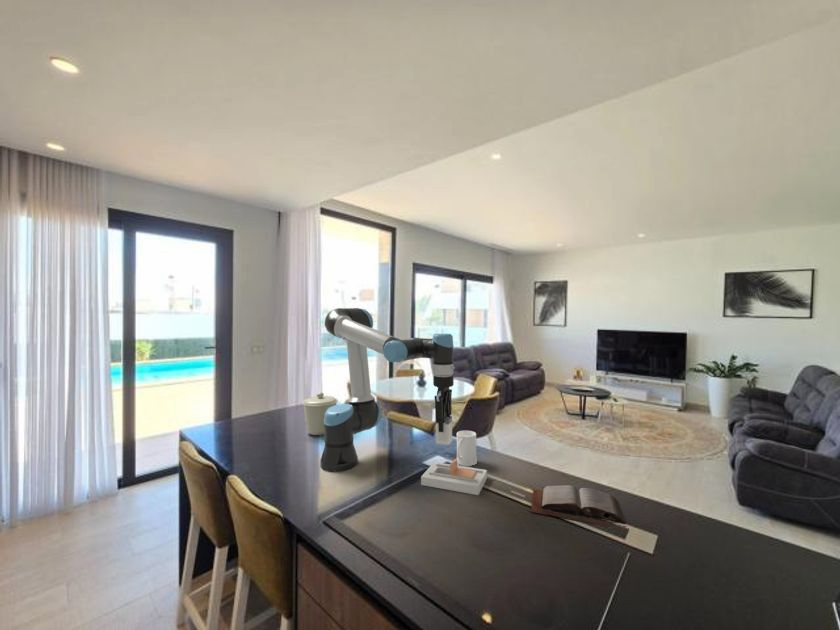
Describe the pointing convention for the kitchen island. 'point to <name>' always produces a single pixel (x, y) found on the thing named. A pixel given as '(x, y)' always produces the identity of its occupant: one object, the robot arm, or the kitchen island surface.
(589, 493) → the book
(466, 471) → the shutter
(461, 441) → the mug
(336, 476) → the kitchen island surface
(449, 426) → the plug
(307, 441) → the kitchen island surface
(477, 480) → the white tray
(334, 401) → the canister
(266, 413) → the kitchen island surface
